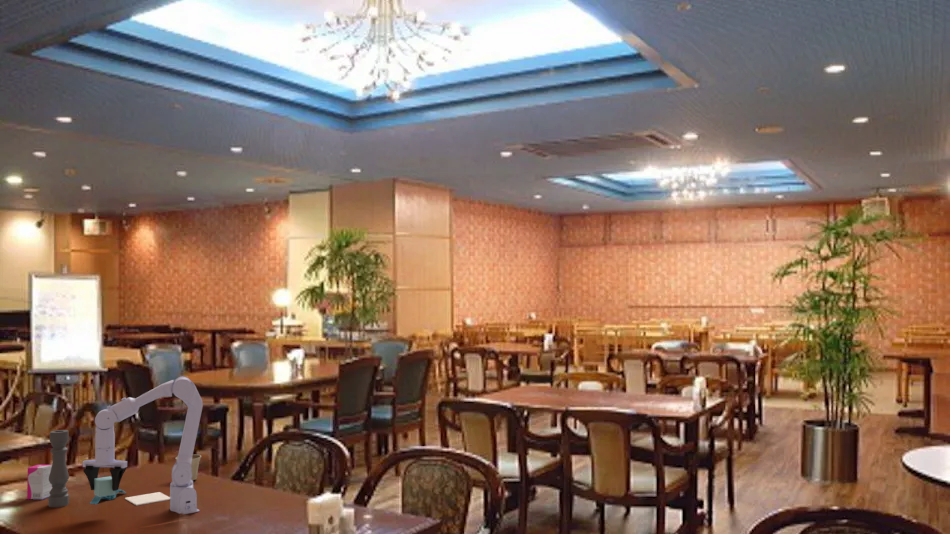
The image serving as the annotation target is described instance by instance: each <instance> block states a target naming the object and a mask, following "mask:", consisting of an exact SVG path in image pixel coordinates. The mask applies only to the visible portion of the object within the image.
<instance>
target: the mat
mask: <svg viewBox="0 0 950 534" xmlns="http://www.w3.org/2000/svg"><path fill="white" fill-rule="evenodd" d="M124 500H126V501H128V502H129V503H131V504H133V505H134V506H138V507H139V506H143V505H148V504H153V503H154V504H155V503H159V502H166V501H170V496H168V495H167V494H164V493H163V492H160V491H158V492H156V491H155V492H152V493H146V494H145V493H144V494H138V495H133V496H129V497H128V496H127V497H124Z"/></svg>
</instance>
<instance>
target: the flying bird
mask: <svg viewBox="0 0 950 534" xmlns="http://www.w3.org/2000/svg"><path fill="white" fill-rule="evenodd" d="M118 493H119V494H120V493H121V494H126V493H127V491H125V490H123V489H121V488H118V490H116V494H114V495H108V496H103V497H98V496H96V495H94V496H93V498H92V499H91V500H90V502H89V505H98V504H99V502H100V501H101V500H105V501H106V500H107V501H109V500H111V501H112V500H115V498H117V494H118Z"/></svg>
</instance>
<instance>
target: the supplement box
mask: <svg viewBox="0 0 950 534" xmlns="http://www.w3.org/2000/svg"><path fill="white" fill-rule="evenodd" d="M51 467H52V464H35V465H33V466H30V467H27V480H26V481H27V482H26V483H27V485H26V486H27V489H26V490H27V491H26V492H27V494H26V500H29V499H33V501H43V500H45V499H48V497H49V496H50V494H49V492H50V491H51V489H52V485H51V484H50V482H49V475H50V471H51Z"/></svg>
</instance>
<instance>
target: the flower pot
mask: <svg viewBox="0 0 950 534" xmlns="http://www.w3.org/2000/svg"><path fill="white" fill-rule="evenodd" d="M177 457H178V456H176V457H175V461H177ZM201 458H202V455H201V454H194V453H193V456H192V463H191V472H192V478H191V480H193V481H194V480H197V478H198V473H199V472H198V471H199V465H200V461H201Z"/></svg>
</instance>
